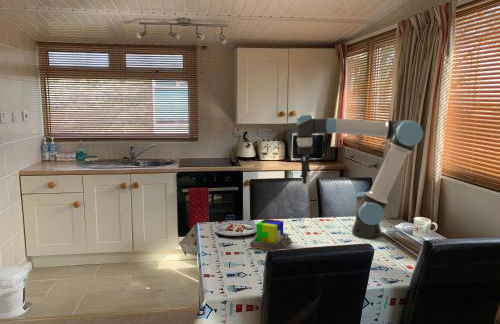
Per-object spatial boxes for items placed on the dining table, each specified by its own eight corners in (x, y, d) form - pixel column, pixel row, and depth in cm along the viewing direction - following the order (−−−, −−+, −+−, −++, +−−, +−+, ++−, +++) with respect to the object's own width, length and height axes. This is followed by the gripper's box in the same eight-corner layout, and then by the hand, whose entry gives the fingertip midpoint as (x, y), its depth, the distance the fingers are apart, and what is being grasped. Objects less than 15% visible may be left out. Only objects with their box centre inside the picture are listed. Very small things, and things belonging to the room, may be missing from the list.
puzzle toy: (283, 240, 196) (283, 221, 195) (274, 246, 187) (274, 226, 186) (265, 237, 201) (265, 218, 200) (256, 243, 192) (256, 223, 191)
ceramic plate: (206, 236, 208) (206, 231, 207) (224, 222, 232) (224, 218, 231) (251, 241, 199) (251, 235, 199) (265, 226, 223) (265, 221, 223)
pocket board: (256, 236, 205) (256, 231, 205) (290, 239, 201) (290, 233, 200) (248, 248, 188) (248, 242, 188) (284, 251, 184) (284, 245, 183)
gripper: (299, 143, 207) (301, 182, 210) (294, 148, 183) (296, 192, 186) (313, 143, 206) (314, 182, 208) (310, 148, 182) (311, 192, 184)
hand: (306, 187), depth 197 cm, fingers open, 13 cm apart
